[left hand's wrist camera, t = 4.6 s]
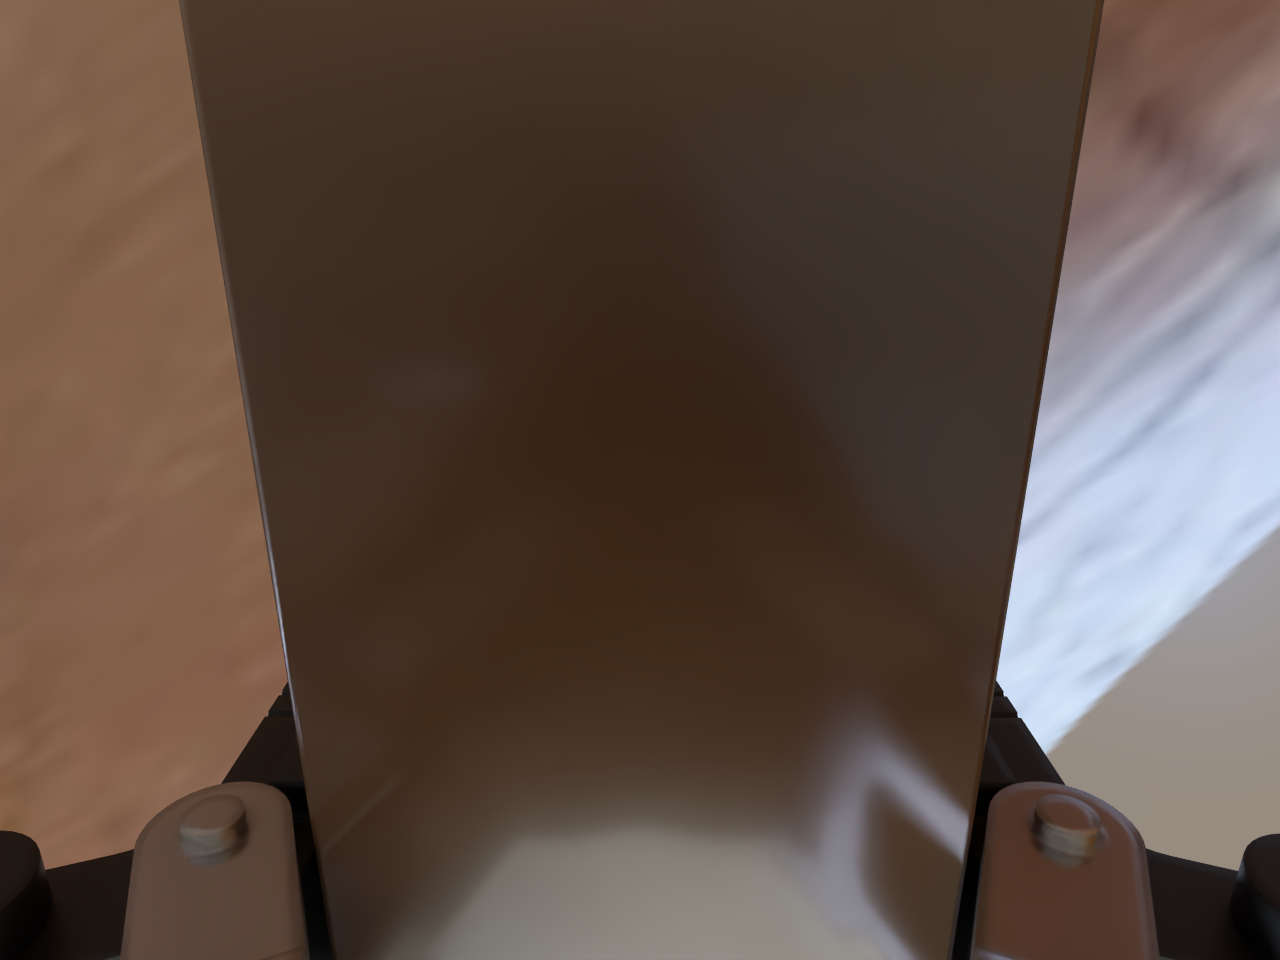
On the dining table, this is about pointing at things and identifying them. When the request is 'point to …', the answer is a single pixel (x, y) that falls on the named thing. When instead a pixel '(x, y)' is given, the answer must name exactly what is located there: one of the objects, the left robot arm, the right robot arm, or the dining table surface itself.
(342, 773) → the bar
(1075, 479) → the dining table surface
